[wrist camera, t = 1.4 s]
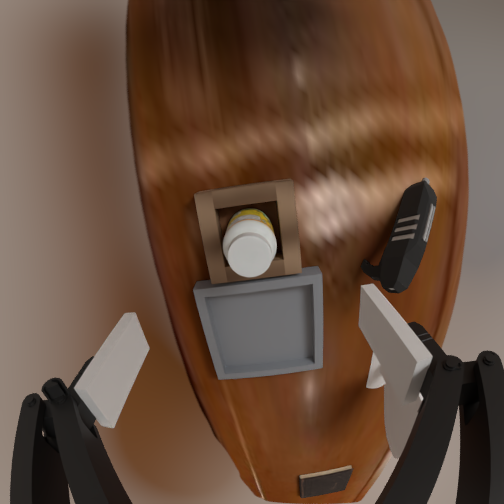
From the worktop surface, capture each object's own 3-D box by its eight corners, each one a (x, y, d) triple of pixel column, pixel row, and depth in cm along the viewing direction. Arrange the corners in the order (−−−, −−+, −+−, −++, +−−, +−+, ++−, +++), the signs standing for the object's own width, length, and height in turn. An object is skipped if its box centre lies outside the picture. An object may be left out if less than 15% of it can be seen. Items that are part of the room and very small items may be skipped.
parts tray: (196, 281, 36) (193, 289, 33) (317, 266, 35) (322, 273, 32) (220, 368, 41) (218, 379, 38) (319, 357, 40) (322, 367, 38)
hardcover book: (351, 463, 57) (353, 469, 55) (343, 485, 64) (344, 489, 62) (298, 473, 58) (299, 479, 55) (299, 493, 65) (300, 498, 63)
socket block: (198, 191, 32) (193, 194, 29) (290, 178, 31) (293, 180, 29) (214, 275, 35) (211, 284, 33) (298, 265, 35) (301, 272, 32)
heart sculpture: (387, 387, 44) (419, 457, 27) (364, 393, 44) (392, 467, 27) (402, 326, 39) (455, 402, 22) (376, 332, 39) (424, 416, 22)
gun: (397, 198, 37) (445, 182, 28) (361, 292, 34) (415, 297, 25) (385, 187, 37) (433, 168, 27) (347, 283, 34) (401, 285, 24)
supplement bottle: (227, 208, 32) (217, 228, 23) (271, 206, 32) (279, 226, 23) (229, 250, 34) (221, 285, 25) (272, 249, 34) (279, 283, 25)
